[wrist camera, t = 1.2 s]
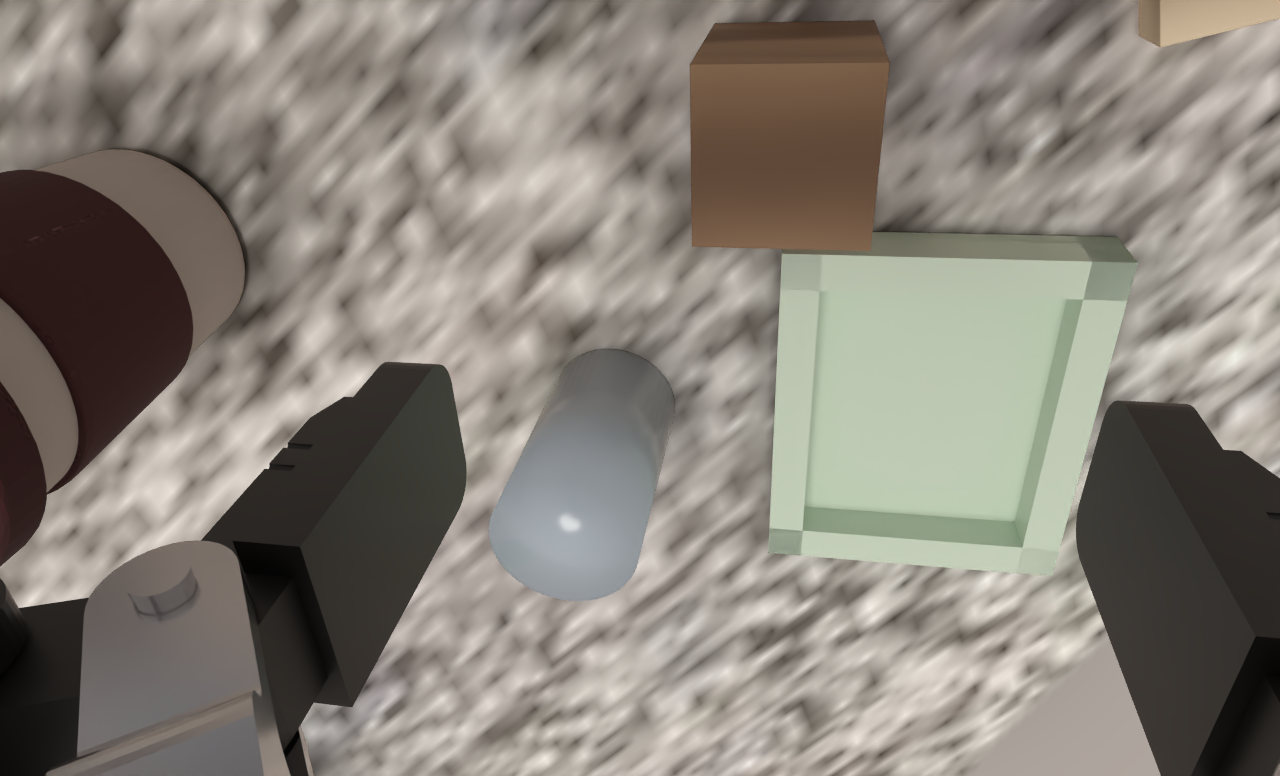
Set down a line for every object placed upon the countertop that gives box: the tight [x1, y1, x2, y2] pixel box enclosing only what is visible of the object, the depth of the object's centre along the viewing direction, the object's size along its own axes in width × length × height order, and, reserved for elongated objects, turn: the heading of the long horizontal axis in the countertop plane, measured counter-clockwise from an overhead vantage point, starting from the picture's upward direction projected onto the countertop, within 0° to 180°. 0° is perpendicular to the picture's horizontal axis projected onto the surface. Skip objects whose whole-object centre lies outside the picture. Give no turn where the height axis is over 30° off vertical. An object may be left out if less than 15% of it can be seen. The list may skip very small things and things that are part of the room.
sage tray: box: [768, 232, 1138, 576], centre depth 29 cm, size 12×10×2 cm
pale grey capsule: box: [489, 349, 675, 601], centre depth 29 cm, size 5×5×8 cm
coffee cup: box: [0, 149, 245, 566], centre depth 26 cm, size 10×10×15 cm
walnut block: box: [690, 20, 890, 251], centre depth 23 cm, size 4×4×6 cm
